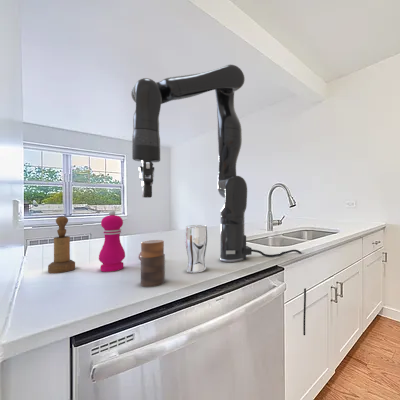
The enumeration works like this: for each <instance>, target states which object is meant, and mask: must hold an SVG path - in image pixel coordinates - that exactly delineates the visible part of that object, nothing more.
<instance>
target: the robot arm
mask: <svg viewBox="0 0 400 400" xmlns="http://www.w3.org/2000/svg"><path fill="white" fill-rule="evenodd" d="M245 80H246V79H245V74H244V72H243V70H242V68H240V67H239V66H237V65H235V64H226V65H224V66H222V67H219V68H216V69H213V70H208V71H204V72H203V71H202V72H197V73H193V74H184V75H177V76H170V77H166V78H163V79H162V80H159V81H155V80H154V79H151V78H148V77H142V78H140V79H138V80H137V81H136V83H135V84H134V85H133V87H132V89H131V93H130V95H131V99H132V101H133V103H135V110H134V113H133V117H132V136H131V137H132V138H131V139H132V140H131V141H132V145H131V146H132V147H131V148H132V149H131V150H132V151H131V153H132V161H135V162H141V165H139V167H138V173H139V181H140V184H141V192H142V193H141V196H142V198H147V199H149V198H153V184H154V180H155V167H154V163H159V162H161V136H160V115H161V114H160V112H161V108H162V107H161V106H162V105H163V104H167V103H169V102H172V101H180V100H184V99H185V100H186V99H190V98H193V97H197V96H200V95H203V94H205V93H208V92H211V91H214V93H215V99H216V118H217V119H216V120H217V146H218V150H217V151H218V152H217V153H218V175H217V192H218V194H219V195H220V196H221V197H222V198H223V199H224V204H223V207H222V208H221V209H220V231H219V233H220V234H219V235H220V240H219V241H220V244H219V245H220V251H219V252H220V253H219V254H220V255H219V256H220V257H219V261H221V262H223V263H237V262H242V261H244V260H247V256H251V255H252V253H258V254H260V255H261V256H263V257H268V258H272V257H273V258H274V257H280V256H282V255H285V254H290V253H298V254H299V255H301V254H302V252H301V251H300V250H298V249H290V250H285V251H282V252H279V253H275V254H274V253H273V254H268V253H267V254H266V253H264V251H263V252H262V251H261V250H258V249H253V248H252V247H250V246H248V245H247V235H246V234H245V224H246V223H245V217H246V216H245V214H246V210H247V206H248V184H247V182H246V180H245V178H243V177H242V176H241V175H237V163H238V158H239V155H240V152H241V149H242V144H243V143H242V142H243V136H242V135H243V132H242V131H243V129H242V124H241V122H240V119H239V117H238V115H237V112H236V108H235V93H236V92H237V91H239V90H240V89H241V88H243V86H244V84H245ZM306 308H307V288H303V321H302V323H303V326H302V329H303V330H302V331H303V333H302V334H303V336H306V313H307V312H306Z"/></svg>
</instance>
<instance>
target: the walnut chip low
mask: <svg viewBox="0 0 400 400" xmlns="http://www.w3.org/2000/svg"><path fill="white" fill-rule="evenodd" d="M164 283H166V268H165V269H163V270H160V271H156V272H141V271H140V286H141V287H144V288H145V287H146V288H151V287H157V286H161V285H163V284H164Z"/></svg>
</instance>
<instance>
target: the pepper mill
mask: <svg viewBox="0 0 400 400" xmlns="http://www.w3.org/2000/svg"><path fill="white" fill-rule="evenodd" d="M123 224H124V220H123V218H122V217H121V216H120V215H116V211H115V210H110V211H109V212H108V215H106V216H104V217H103V218H102V219H101V221H100V226H101V227H102V228H103V230H102V235H104V242H103V245H102V247H101V249H100V252H99V254H98V260H99V262H100V263H101V265H100V272H104V273H108V272H115V271H120V270H123V269H124V262H123V260H124V259H125V258H126V252H125V248H124V247H123V245H122V243H121V237H120V235H121V234H122V229H121V228H122V226H123Z"/></svg>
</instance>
